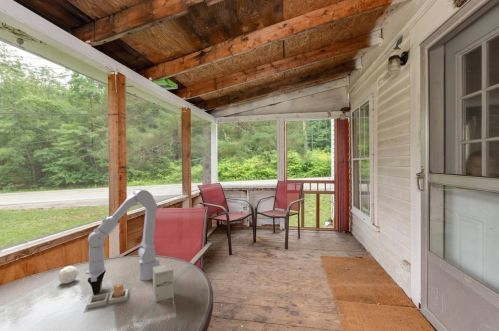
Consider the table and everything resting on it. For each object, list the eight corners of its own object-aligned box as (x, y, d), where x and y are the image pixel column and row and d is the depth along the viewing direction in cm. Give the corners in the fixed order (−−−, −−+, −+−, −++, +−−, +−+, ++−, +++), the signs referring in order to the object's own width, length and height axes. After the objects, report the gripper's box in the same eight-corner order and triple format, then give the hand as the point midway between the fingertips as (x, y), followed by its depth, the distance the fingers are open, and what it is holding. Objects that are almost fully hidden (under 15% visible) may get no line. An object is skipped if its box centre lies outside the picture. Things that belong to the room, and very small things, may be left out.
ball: (64, 288, 115) (59, 272, 117) (83, 278, 119) (77, 263, 121) (57, 287, 108) (52, 270, 111) (77, 276, 112) (72, 261, 115)
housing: (130, 292, 104) (130, 286, 104) (128, 305, 94) (128, 298, 94) (89, 300, 98) (89, 294, 98) (83, 315, 88) (83, 308, 88)
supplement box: (154, 305, 94) (154, 273, 94) (153, 296, 101) (152, 266, 101) (174, 300, 97) (173, 269, 97) (171, 291, 104) (170, 262, 104)
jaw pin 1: (102, 291, 106) (102, 280, 106) (101, 295, 102) (101, 283, 102) (93, 293, 104) (93, 281, 104) (92, 297, 101) (91, 285, 101)
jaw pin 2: (123, 294, 100) (123, 283, 100) (123, 299, 97) (122, 286, 97) (114, 296, 99) (114, 284, 99) (113, 301, 96) (113, 288, 96)
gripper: (89, 255, 108) (90, 285, 108) (81, 268, 95) (82, 301, 95) (107, 253, 111) (108, 282, 111) (102, 264, 98) (102, 297, 98)
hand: (97, 290), depth 103 cm, fingers closed on jaw pin 1, 3 cm apart
